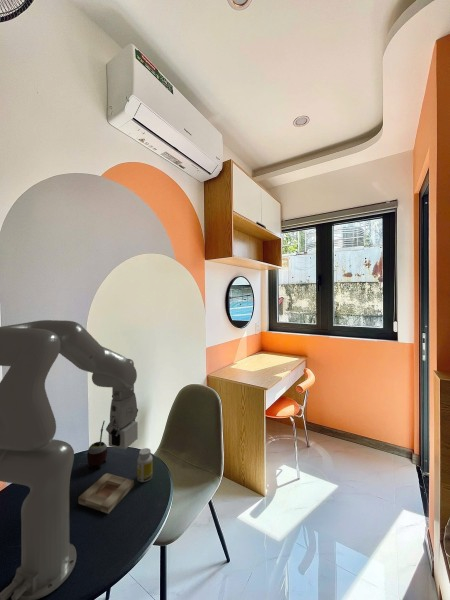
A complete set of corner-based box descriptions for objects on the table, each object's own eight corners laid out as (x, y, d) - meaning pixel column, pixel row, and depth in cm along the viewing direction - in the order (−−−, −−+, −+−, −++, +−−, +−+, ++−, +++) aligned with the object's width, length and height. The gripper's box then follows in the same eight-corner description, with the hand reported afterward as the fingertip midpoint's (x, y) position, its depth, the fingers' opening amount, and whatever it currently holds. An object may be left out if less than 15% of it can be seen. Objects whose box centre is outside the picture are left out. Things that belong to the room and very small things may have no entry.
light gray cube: (124, 449, 92) (124, 431, 92) (108, 445, 94) (108, 427, 94) (137, 438, 99) (137, 421, 98) (122, 435, 101) (122, 418, 101)
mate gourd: (90, 474, 96) (90, 434, 96) (84, 463, 102) (84, 426, 102) (110, 465, 101) (110, 427, 101) (104, 455, 107) (104, 420, 107)
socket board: (108, 513, 79) (108, 507, 79) (78, 503, 82) (78, 497, 82) (133, 486, 90) (133, 480, 90) (106, 478, 94) (106, 472, 94)
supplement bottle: (154, 472, 97) (154, 447, 97) (149, 483, 92) (149, 456, 91) (140, 471, 97) (141, 446, 97) (134, 482, 92) (134, 455, 92)
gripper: (114, 403, 86) (114, 455, 87) (145, 385, 103) (145, 429, 103) (97, 400, 89) (97, 450, 89) (130, 383, 105) (130, 426, 106)
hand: (123, 438), depth 96 cm, fingers closed on light gray cube, 7 cm apart
